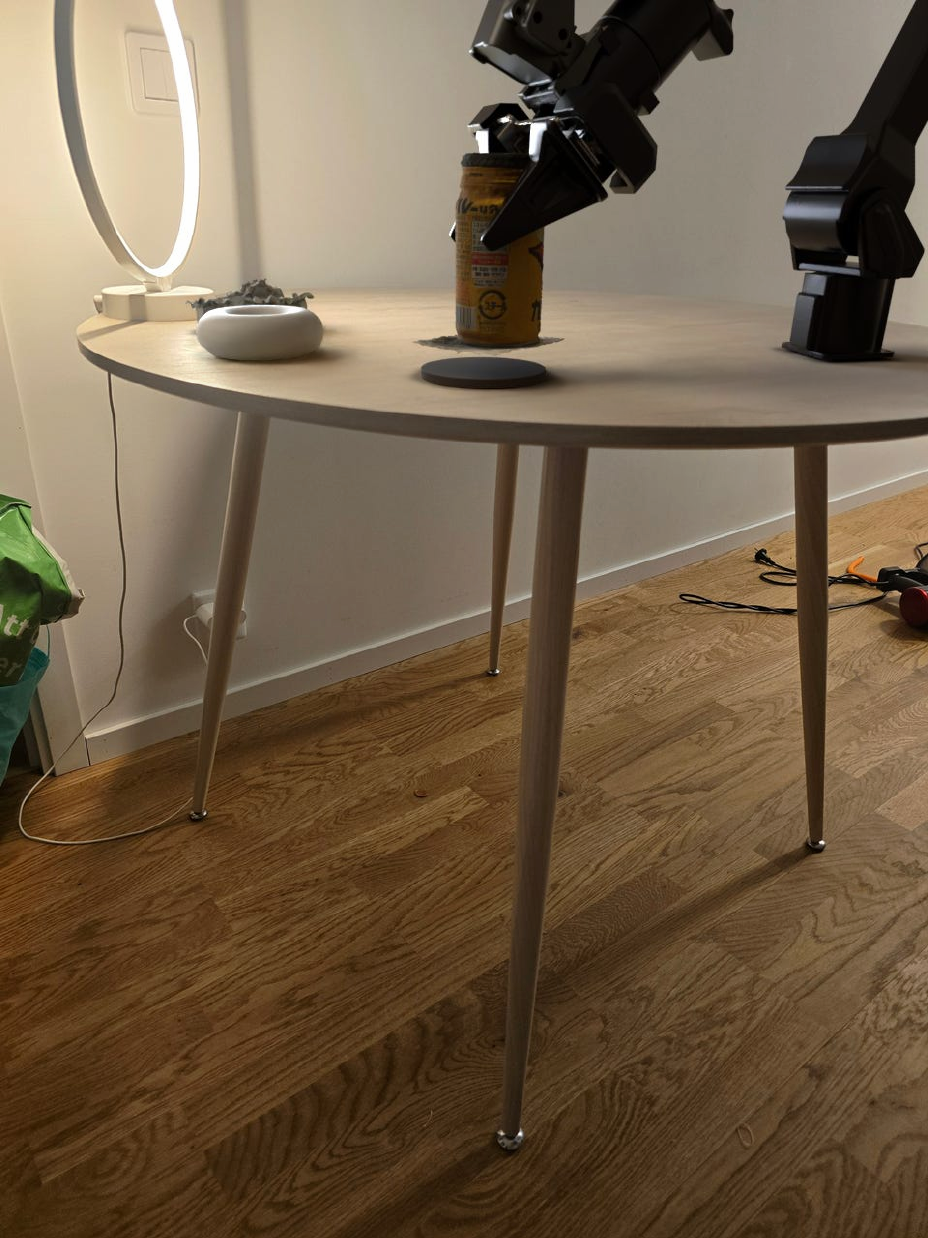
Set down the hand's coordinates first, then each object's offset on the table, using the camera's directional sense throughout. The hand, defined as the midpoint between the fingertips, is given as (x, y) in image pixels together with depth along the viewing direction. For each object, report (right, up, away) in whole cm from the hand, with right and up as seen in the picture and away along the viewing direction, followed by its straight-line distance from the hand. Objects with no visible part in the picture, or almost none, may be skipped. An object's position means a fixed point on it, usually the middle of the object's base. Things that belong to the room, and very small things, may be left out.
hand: (469, 243), depth 59 cm
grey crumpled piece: (-20, +2, +24) cm, 32 cm away
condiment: (+1, -6, +3) cm, 7 cm away
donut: (-17, -4, +12) cm, 21 cm away
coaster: (+1, -8, +4) cm, 9 cm away
